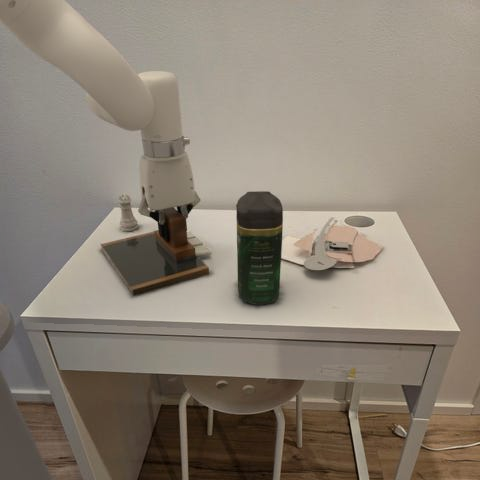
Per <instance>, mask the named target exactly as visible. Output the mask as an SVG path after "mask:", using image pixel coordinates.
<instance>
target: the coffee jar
mask: <svg viewBox="0 0 480 480" xmlns="http://www.w3.org/2000/svg"><path fill="white" fill-rule="evenodd" d="M235 206H236V207H235V208H236V209H235V210H236V258H237V259H236V260H237V261H236V262H237V263H236V265H237V293H238V297H239V299H240V300H241V301H242V302H244V303H247V304H252V305H266V304H270V303H273V302H276V301H277V300H278V298H279V297H280V286H281V267H282V258H281V254H282V240H283V226H284V211H283V210H284V209H283V205H282V202H281V200H280V199H279V197H278V196H276V195H274V194H272V192H271V191H268V190H267V191H266V190H265V191H263V190H261V191H257V190H256V191H246V193H245V194H243V195H242V196H240V197H239V198H238V199H237V203H236V205H235Z"/></svg>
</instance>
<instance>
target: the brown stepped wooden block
mask: <svg viewBox="0 0 480 480" xmlns="http://www.w3.org/2000/svg"><path fill="white" fill-rule="evenodd" d="M165 221H166V223H167V224H168V231H169V239H170V241H169V242H166V241H165V240H164V239H163V238H162V237H160V235H159V230H158V229H156V230H154V232H155V239H156V242H157V243H158V244H159V245H160V246H161V247H162V248H163V249H164V250H165V251H166V252H167V253H168V254H169V256H170V257H171V258H172V259H173V260H174V261H175V262H176V263H179V262H182V261H186V260H190V259H193V258H196V253H195V247H194V246H193V245H192V244H191V243H190V242H189V241H188V240H187V232H188V229H187V230H186V223H187V219H185V217H184V216H183V215H182V214H181V213H180V212H178V211H177V208H176V207H172V208H168V209H165Z"/></svg>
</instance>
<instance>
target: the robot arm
mask: <svg viewBox="0 0 480 480" xmlns="http://www.w3.org/2000/svg"><path fill="white" fill-rule="evenodd" d="M0 22H1V23H2V25H3V26H5V28H6V29H7V30H9V31H10V33H11V34H12V35H14V37H16V39H17V40H18V41H19V42H21V44H22V45H23V46H25V47H26V48H28V49H29V50H30V51H31V52H32V53H34V54H35V55H36V56H38V57H39V58H41V59H42V60H44V61H46V62H47V63H49V64H50V65H52V66H53V67H55V68H57V69H58V70H60V71H61V72H62V73H64V74H65V75H66V76H68V77H69V78H70V79H71V80H73V81H74V83H76V84H77V85H78V86H79V87H81V88H82V89H83V90H84V91H85V98H86V102H87V105H88V107H89V109H90V110H91V111H92V113H93V114H94V115H95V116H96V117H97V118H99V119H100V120H102V121H105V122H106V123H108V124H111V125H114V126H116V127H118V128H120V129H122V130H124V131H129V132H136V131H137V132H138V131H140V136H141V143H142V144H141V145H142V151H143V154H141V155H140V156H139V166H138V167H139V169H138V171H139V174H138V175H139V188H140V196H141V200H140V204H139V207H138V209H137V211H138V213H139V214H140V216H144V217H148V218H151V219H152V220H154V221H155V222H157V230H159V235H160V237H162V238H163V239H164V240H165V241H166V242H169V241H170V239H169V231H168V224H167V223H166V221H165V209H168V208H172V207H174V208H176V210H177V211H178V212H180V213H181V214H182V215H183V216H184V217H185V219H186V220H187V219H188V218H189V214H190V213H191V212H192V210H193V209H194V208H195V207H196V206H197V205H198V204H200V202H201V201H202V200H201V197H200V196H199V195H198V193H197V192H196V190H195V189H196V188H195V181H194V176H193V171H192V166H191V162H190V158H189V155H188V152H187V151H186V148H185V147H186V146H187V145H190V144H191V141H190V137H189V136H184V135H183V126H182V114H181V102H180V91H179V81H178V78H177V77H176V74H174V73H172V72H171V71H166V70H150V71H144V72H140V73H137V71H135V69H134V68H133V67H132V66H131V65H130V64H129V62H128V61H127V60H126V59H125V58H124V56H123V55H122V54H121V53H120V52H119V51H118V50H117V49H116V47H115V46H113V45H112V43H110V42H109V41H108V40H107V38H105V37H104V35H102V34H101V33H100V32H99V31H98V30H97V29H95V27H94V26H93V25H91V24H90V23H89V22H88V21H87V20H86V19H85V18H84V17H83V16H82V15H81V14H80V13H79V11H77V10H76V9H75V8H73V7H72V6H71V5H70V4H69V3H68V1H66V0H0ZM186 230H187V231H188V225H187V222H186Z"/></svg>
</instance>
